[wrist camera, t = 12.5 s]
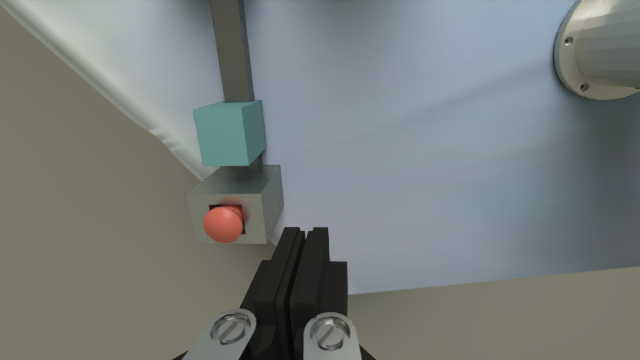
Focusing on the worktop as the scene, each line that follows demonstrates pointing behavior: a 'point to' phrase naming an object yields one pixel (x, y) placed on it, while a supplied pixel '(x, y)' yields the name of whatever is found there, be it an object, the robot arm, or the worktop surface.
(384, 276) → the worktop surface
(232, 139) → the carriage
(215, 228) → the knob
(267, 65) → the worktop surface
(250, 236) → the cabinet
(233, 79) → the rail
